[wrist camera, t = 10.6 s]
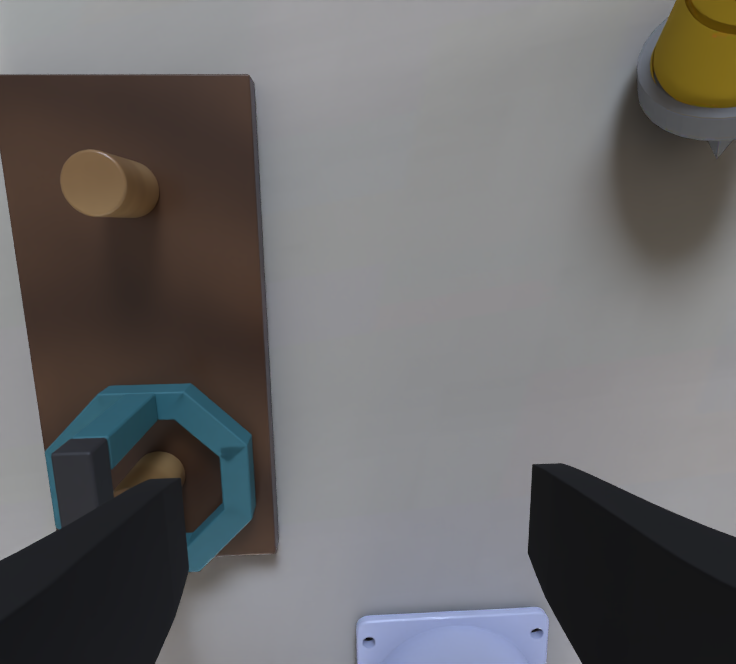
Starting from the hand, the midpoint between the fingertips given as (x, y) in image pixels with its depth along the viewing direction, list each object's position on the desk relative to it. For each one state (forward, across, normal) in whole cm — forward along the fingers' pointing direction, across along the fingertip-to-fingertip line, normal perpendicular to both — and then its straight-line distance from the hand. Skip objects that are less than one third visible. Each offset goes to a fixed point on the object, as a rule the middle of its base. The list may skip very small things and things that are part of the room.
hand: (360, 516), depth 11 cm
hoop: (+8, +7, +3) cm, 11 cm away
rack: (+9, +7, -2) cm, 12 cm away
